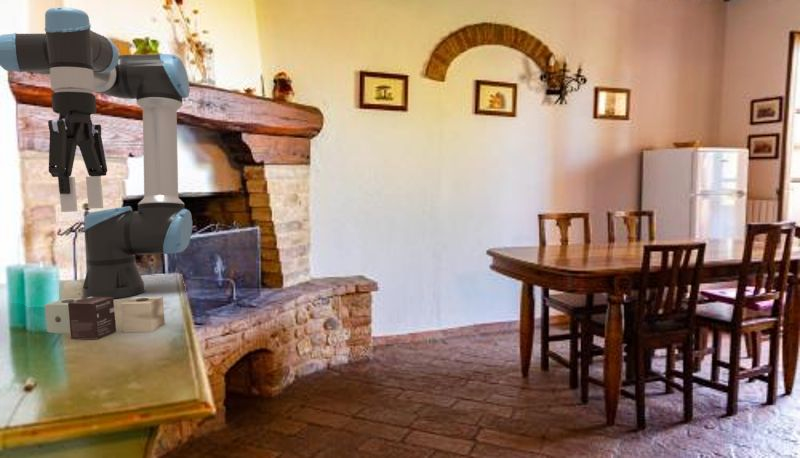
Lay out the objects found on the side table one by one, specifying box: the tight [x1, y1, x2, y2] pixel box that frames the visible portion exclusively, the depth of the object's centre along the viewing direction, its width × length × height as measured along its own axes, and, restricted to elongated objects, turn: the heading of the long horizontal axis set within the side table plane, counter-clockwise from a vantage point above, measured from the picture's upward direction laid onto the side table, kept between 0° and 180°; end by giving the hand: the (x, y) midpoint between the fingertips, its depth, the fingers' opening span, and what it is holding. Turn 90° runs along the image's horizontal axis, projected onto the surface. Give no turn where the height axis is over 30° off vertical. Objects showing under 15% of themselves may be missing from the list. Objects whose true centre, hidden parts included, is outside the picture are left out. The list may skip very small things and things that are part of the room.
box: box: [68, 297, 117, 340], centre depth 121 cm, size 6×6×7 cm
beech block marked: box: [120, 296, 166, 333], centre depth 125 cm, size 6×6×6 cm
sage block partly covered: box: [44, 297, 80, 335], centre depth 126 cm, size 6×6×6 cm
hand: (83, 209), depth 119 cm, fingers open, 8 cm apart
